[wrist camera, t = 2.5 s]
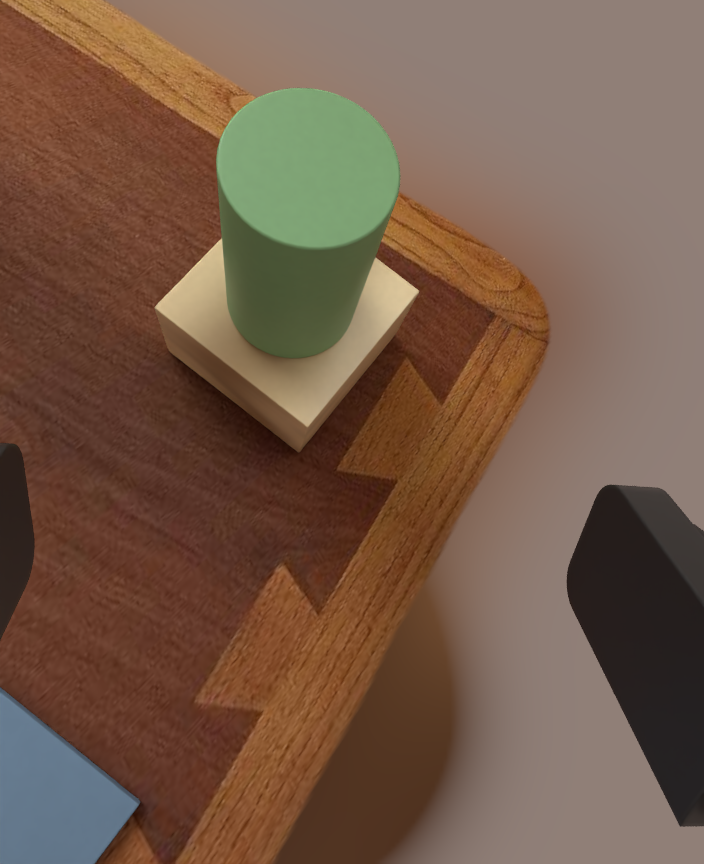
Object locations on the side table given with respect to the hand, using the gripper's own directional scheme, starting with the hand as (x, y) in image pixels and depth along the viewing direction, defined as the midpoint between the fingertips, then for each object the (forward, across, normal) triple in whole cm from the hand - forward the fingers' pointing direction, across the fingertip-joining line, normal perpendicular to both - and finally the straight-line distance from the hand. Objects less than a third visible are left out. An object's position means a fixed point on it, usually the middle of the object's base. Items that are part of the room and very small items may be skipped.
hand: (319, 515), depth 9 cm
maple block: (+23, 0, +7) cm, 24 cm away
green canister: (+19, 0, +4) cm, 20 cm away
